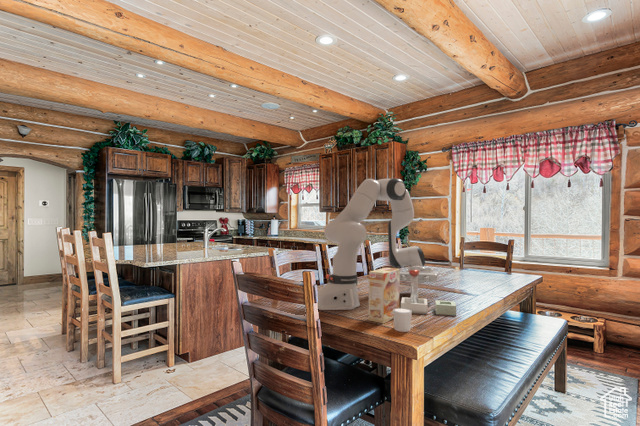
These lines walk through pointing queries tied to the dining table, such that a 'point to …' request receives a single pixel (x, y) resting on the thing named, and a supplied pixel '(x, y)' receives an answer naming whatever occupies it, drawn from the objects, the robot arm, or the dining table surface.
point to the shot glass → (402, 319)
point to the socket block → (445, 307)
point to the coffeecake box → (383, 294)
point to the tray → (415, 305)
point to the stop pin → (414, 285)
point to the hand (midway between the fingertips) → (415, 279)
